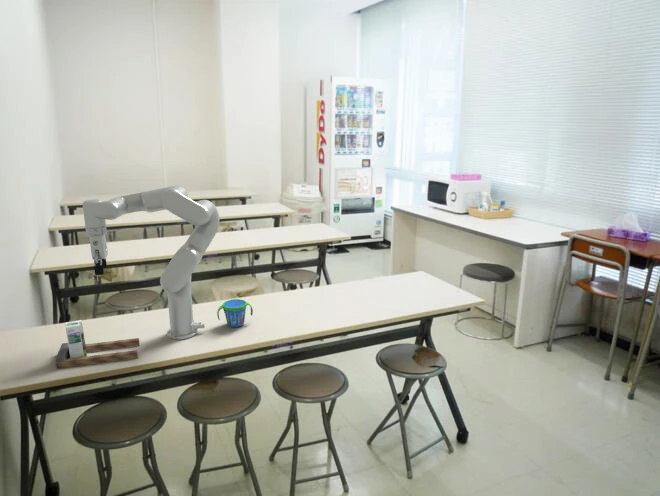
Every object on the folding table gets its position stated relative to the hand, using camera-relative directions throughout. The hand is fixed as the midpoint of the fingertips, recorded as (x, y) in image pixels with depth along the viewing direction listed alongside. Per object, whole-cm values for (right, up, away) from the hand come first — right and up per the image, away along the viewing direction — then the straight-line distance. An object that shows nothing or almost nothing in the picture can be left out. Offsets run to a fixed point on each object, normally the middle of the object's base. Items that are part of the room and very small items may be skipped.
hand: (101, 271), depth 201 cm
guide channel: (+5, -32, -11) cm, 34 cm away
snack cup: (+52, -25, +19) cm, 60 cm away
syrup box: (-3, -33, -13) cm, 36 cm away
